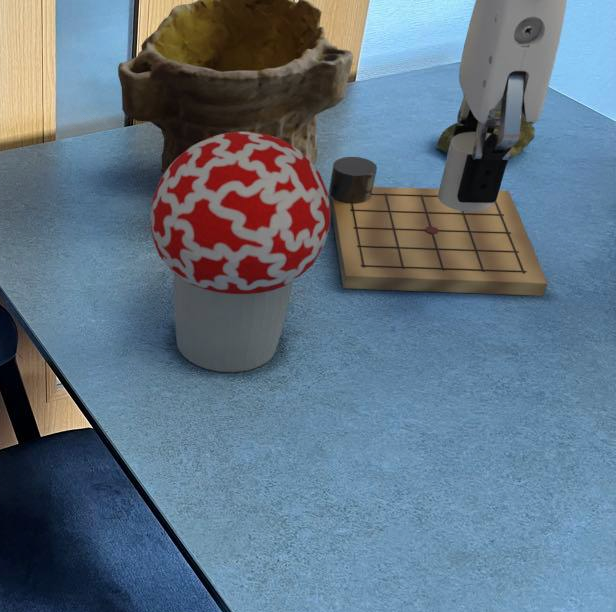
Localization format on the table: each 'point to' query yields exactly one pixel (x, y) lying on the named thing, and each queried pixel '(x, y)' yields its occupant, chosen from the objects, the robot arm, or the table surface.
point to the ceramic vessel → (235, 74)
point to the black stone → (352, 179)
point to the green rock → (523, 141)
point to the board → (434, 245)
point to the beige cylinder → (458, 173)
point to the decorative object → (237, 243)
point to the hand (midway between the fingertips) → (470, 183)
